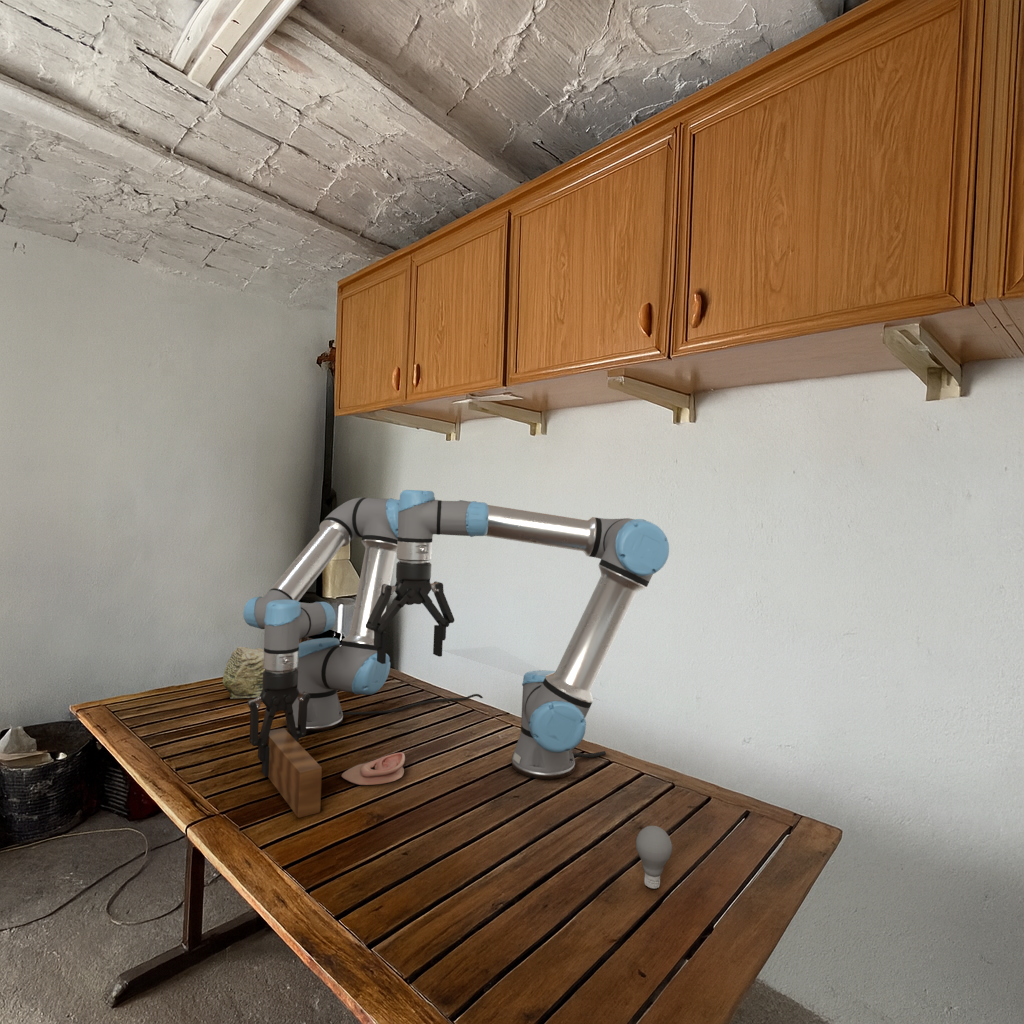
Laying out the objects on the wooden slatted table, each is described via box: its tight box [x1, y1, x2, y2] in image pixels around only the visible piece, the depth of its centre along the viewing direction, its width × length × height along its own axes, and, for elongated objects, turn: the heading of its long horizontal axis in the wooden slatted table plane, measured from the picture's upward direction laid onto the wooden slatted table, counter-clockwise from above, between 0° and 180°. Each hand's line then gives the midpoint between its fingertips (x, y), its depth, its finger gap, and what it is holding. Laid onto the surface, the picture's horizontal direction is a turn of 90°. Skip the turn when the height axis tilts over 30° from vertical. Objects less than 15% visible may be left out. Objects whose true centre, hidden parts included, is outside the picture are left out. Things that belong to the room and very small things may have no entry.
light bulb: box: [635, 825, 673, 889], centre depth 107 cm, size 6×6×10 cm
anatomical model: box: [341, 751, 406, 786], centre depth 145 cm, size 13×4×12 cm
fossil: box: [222, 646, 265, 699], centre depth 198 cm, size 9×18×15 cm, turn 132°
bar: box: [267, 727, 323, 819], centre depth 136 cm, size 25×4×9 cm, turn 36°
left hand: (276, 771), depth 144 cm, fingers closed on bar, 4 cm apart
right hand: (410, 658), depth 138 cm, fingers open, 13 cm apart
